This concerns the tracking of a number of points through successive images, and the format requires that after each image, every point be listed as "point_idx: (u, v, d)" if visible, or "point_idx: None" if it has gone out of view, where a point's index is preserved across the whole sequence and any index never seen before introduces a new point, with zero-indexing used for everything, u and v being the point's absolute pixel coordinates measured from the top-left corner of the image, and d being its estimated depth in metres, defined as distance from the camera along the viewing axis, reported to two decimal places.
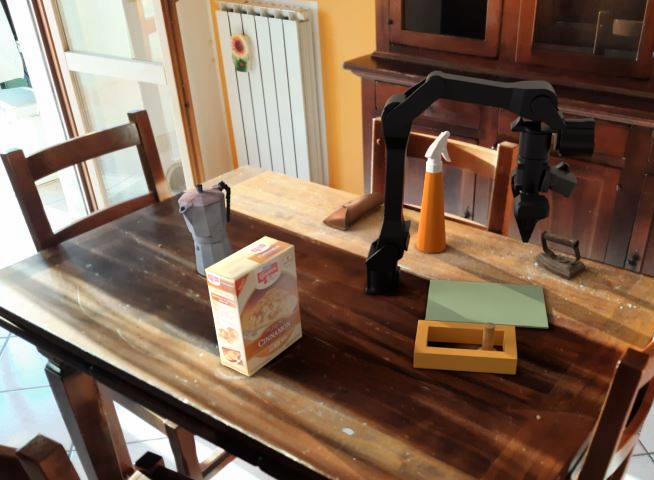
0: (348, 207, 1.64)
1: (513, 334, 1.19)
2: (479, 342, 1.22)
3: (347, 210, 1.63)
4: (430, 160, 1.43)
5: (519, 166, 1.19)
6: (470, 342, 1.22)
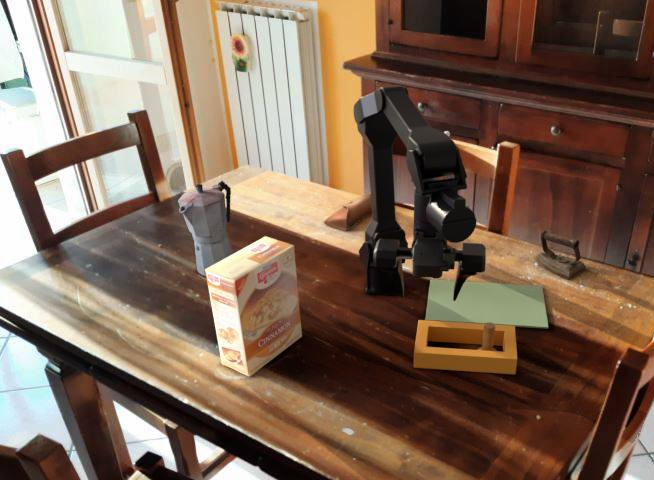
0: (349, 207, 1.64)
1: (513, 334, 1.19)
2: (479, 342, 1.22)
3: (348, 210, 1.63)
4: None
5: None
6: (470, 342, 1.22)
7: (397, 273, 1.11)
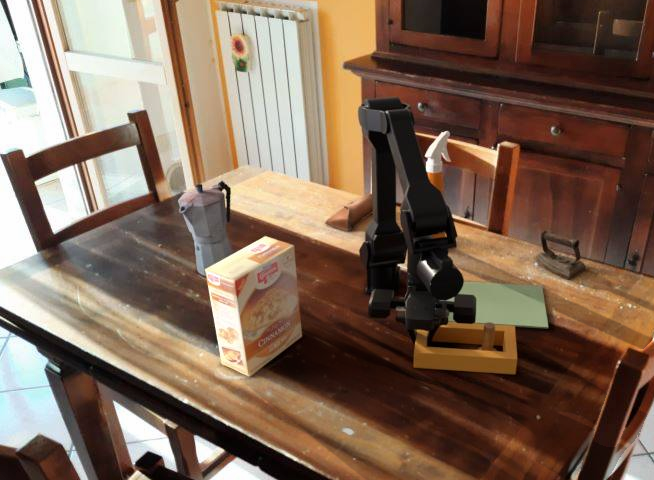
0: (350, 208, 1.64)
1: (513, 334, 1.19)
2: (479, 342, 1.22)
3: (350, 211, 1.63)
4: (430, 160, 1.43)
5: None
6: (470, 342, 1.22)
7: None
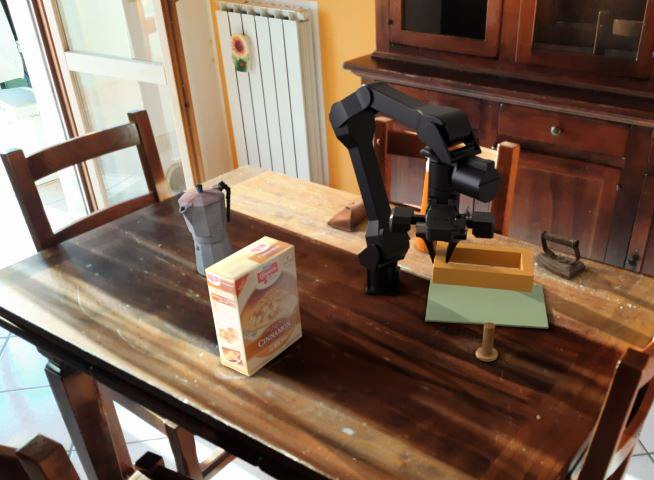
0: (352, 208, 1.64)
1: (530, 256, 1.22)
2: (496, 264, 1.25)
3: (352, 211, 1.62)
4: None
5: None
6: (487, 264, 1.25)
7: None
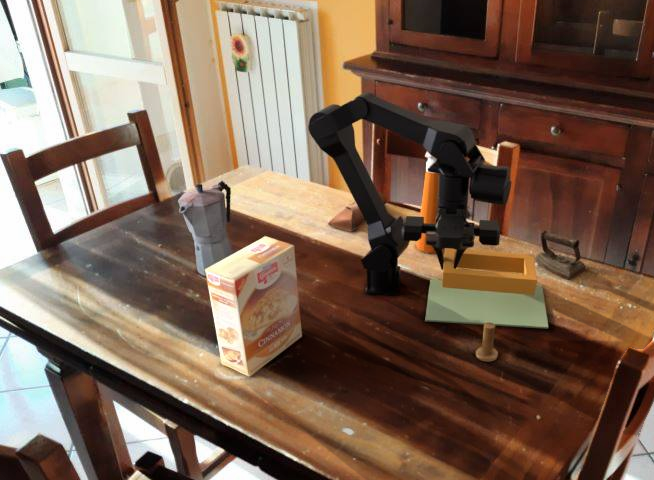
0: (353, 208, 1.64)
1: (532, 261, 1.31)
2: (500, 269, 1.33)
3: (353, 211, 1.62)
4: (430, 160, 1.43)
5: None
6: (492, 269, 1.34)
7: None
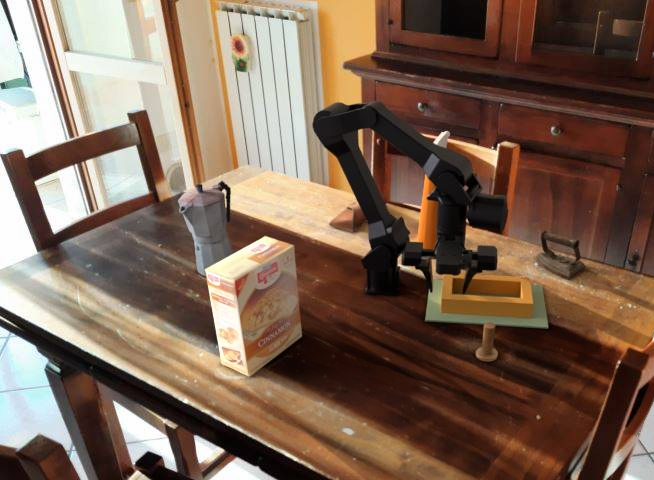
0: (354, 208, 1.64)
1: (529, 284, 1.34)
2: (498, 292, 1.37)
3: (354, 211, 1.62)
4: None
5: None
6: (490, 292, 1.37)
7: (428, 271, 1.29)
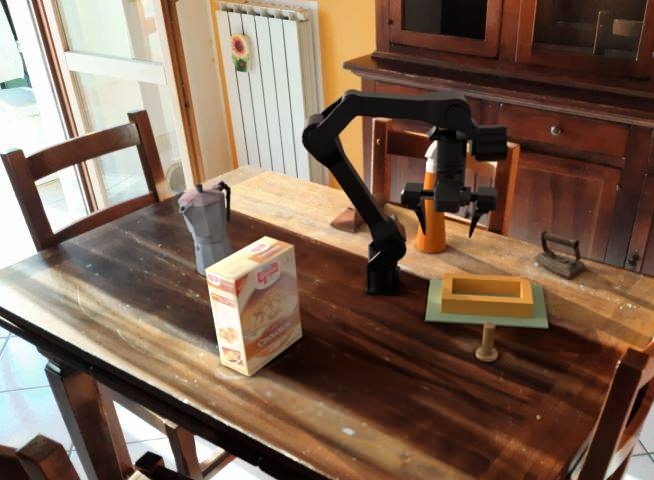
0: (355, 209, 1.64)
1: (529, 284, 1.34)
2: (498, 292, 1.37)
3: (355, 212, 1.62)
4: (430, 160, 1.43)
5: None
6: (490, 292, 1.37)
7: (421, 211, 1.29)
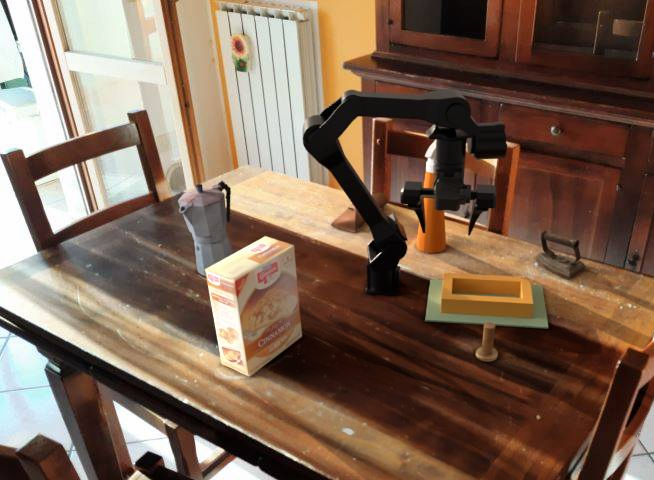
0: (356, 209, 1.64)
1: (529, 284, 1.34)
2: (498, 292, 1.37)
3: (356, 212, 1.62)
4: (430, 160, 1.43)
5: None
6: (490, 292, 1.37)
7: (420, 210, 1.30)
